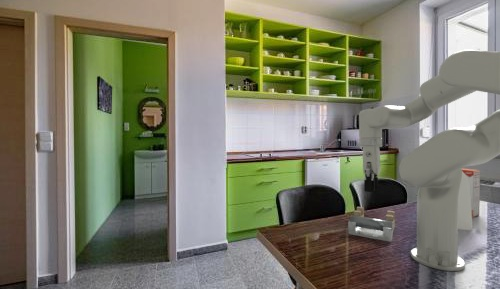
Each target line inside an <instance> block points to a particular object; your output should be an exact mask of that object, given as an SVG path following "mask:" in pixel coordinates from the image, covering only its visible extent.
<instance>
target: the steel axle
mask: <svg viewBox="0 0 500 289" xmlns="http://www.w3.org/2000/svg"><path fill="white" fill-rule="evenodd" d="M349 221H350V222H356V227H359V228H365V229H371V230H377V231H383V227H387V228H391V230H392V229H393V222H392V221H386V219H380V218H379V219H378V218H373V217H365V216H364V217H359V216H354V214H353V215H352V214H351V215H350V216H349V220H348V222H349Z"/></svg>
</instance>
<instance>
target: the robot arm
mask: <svg viewBox="0 0 500 289" xmlns="http://www.w3.org/2000/svg"><path fill="white" fill-rule="evenodd" d="M476 91H477V92H481V93H482V92H483V93H488V94H495V95H500V51H488V50H473V49H464V50H463V49H462V50H460V51H457V52H453V53H452V54H450V55H449V56H447V57H446V58H445V59H444V60H443V62H442V63H441V65H440V67H439V70H438V74H437V75H435V76H433V77H432V78H430V79H428V80H426V81H424V82H423V83H421V85H420V87H419V95H420V96H418V97H417V98H416V99H414V100H412V101H410V102H409V103H407V104H405V105H401V106H400V105H398V106H397V105H379V106H377V107H374V108H366V109H363V110H360V111H359V116H358V125H359V127H358V130H359V133H358V134H359V148H362V171H363V175H364V181H363V183H364V184H363V185H364V190H363V191H364V192H366V193H375V188H379V178H378V175H379V174H380V173H381V168H382V167H381V150H380V147H381V148H382V147H383V129H403V128H407V127H410V126H412V125H413V126H414V125H415V124H417V123H419V122H422V121H424V120H426V119H428V118H430V117H431V116H432V115H433V114H435V113H436V112H437V111H438V110H439V109H441V108H443V107H444V106H447V105H448V104H450V103H453V102H454V101H457V100H460V99H461V98H463V97H466V96H469V95H470V94H473V93H475V92H476ZM499 155H500V109H498V110H496V111H494V112H492V113H491V114H490V115H489V116H487V117H485V118H484V119H482V120H480V121H478V122H477V123H476V124H473V125H472V126H467V127H453V128H448V129H445V130H443V131H440V132H439V133H437V134H434V136H432V137H430V138H428V140H426V141H425V142H423V143H422V144H421V145H419V146H418V147H417V148H414V149H413V150H412V151H410V152H409V153H408V154H406V155H405V156H404V157H403V158H402V160H401V161H400V163H399V167H398V174H399V176H400V179H401V180H403V182H404V183H405V184H406V185H409V186H411V187H413V188H414V187H415V188H418V191H417V201H416V202H417V203H416V247H415V248H412V249H411V250H410V256H411V258H412V259H413V260H414V261H416V262H417V263H419V264H422V265H423V266H427V267H429V268H432V269H436V270H441V271H445V272H446V271H447V272H455V271H456V272H459V271H462V270H464V269H465V268H466V262H465V260H464V259H462V257H460V256H459V255H458V253H459V251H458V249H459V248H458V246H459V244H458V243H459V236H458V235H459V233H458V232H459V229H458V199H459V189H460V184H461V179H462V168H466V167H471V166H472V167H473V166H479V165H482V164H486V163H488V162H489V161H492V160H493V159H494V158H495V159H496V157H498V156H499Z"/></svg>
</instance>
